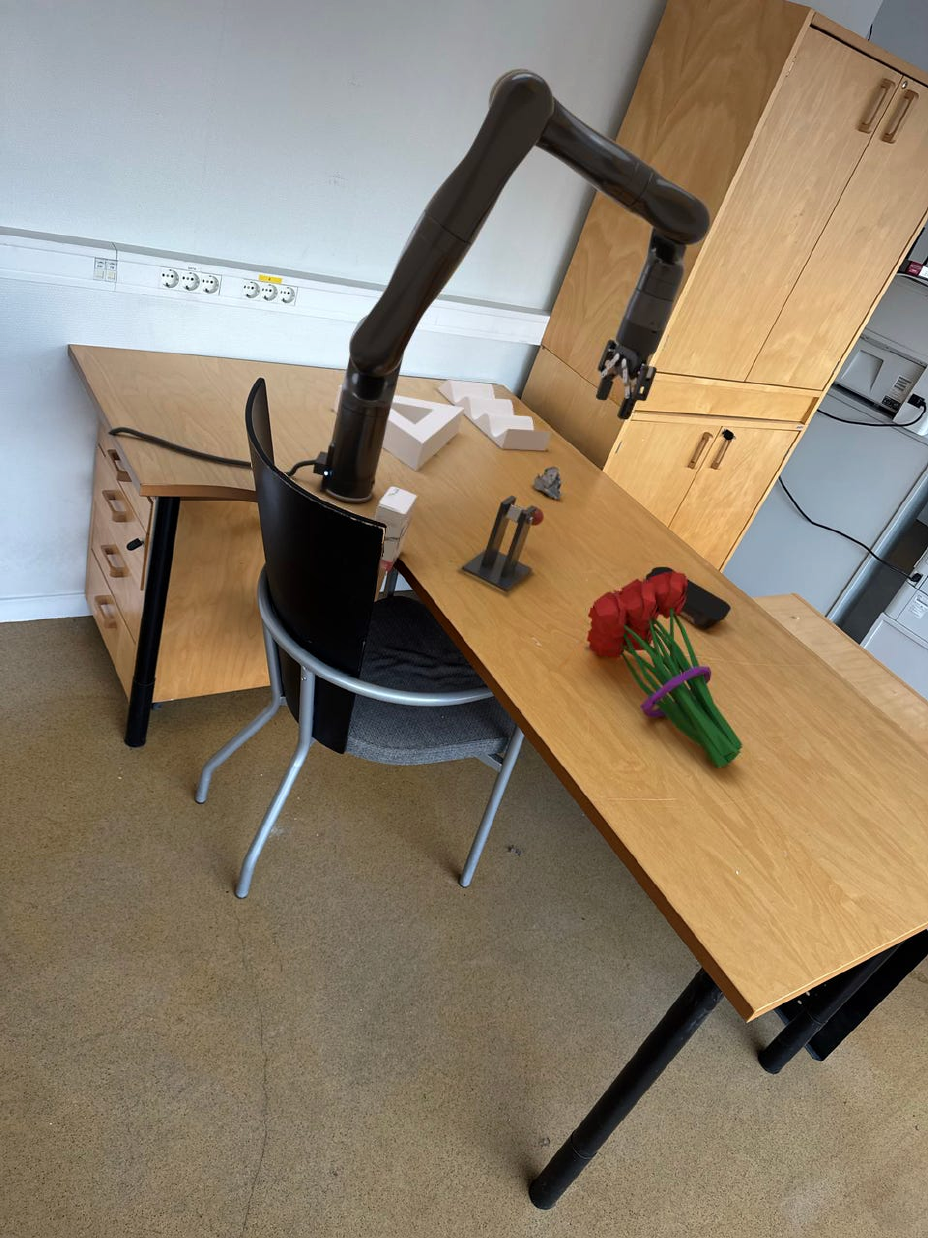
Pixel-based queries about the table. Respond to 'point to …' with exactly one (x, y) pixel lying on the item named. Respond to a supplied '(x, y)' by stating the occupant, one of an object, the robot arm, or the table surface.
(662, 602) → the bouquet
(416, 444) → the triangle block
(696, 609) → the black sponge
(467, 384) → the file organizer
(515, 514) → the lever
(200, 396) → the table surface
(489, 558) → the bracket
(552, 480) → the crumpled paper
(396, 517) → the ink box
